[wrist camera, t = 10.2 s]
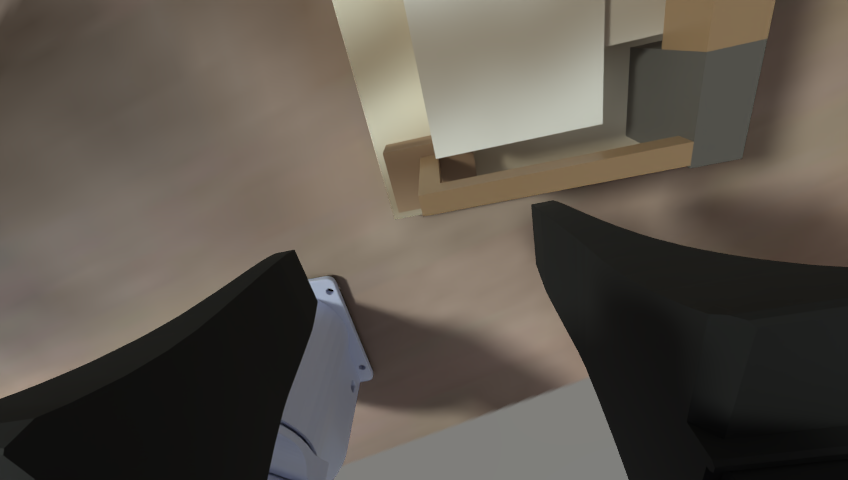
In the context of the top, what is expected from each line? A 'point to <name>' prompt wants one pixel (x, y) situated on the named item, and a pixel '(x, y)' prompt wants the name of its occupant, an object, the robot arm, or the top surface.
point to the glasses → (650, 109)
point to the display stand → (491, 81)
